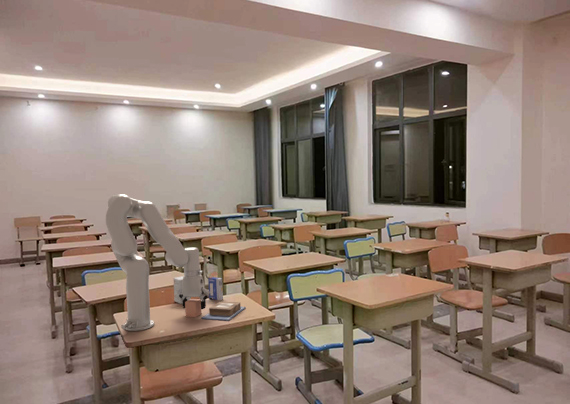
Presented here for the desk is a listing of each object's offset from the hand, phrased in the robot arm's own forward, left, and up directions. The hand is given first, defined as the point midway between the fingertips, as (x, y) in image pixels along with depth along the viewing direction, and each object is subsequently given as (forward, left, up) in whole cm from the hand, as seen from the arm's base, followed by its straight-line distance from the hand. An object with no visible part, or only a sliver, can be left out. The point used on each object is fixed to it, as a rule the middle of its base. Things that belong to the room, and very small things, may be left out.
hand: (194, 308), depth 197 cm
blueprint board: (+5, -14, -3) cm, 15 cm away
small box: (+20, +18, -3) cm, 27 cm away
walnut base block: (+6, -14, -3) cm, 15 cm away
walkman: (+28, +2, -3) cm, 28 cm away
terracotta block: (0, 0, -3) cm, 3 cm away
